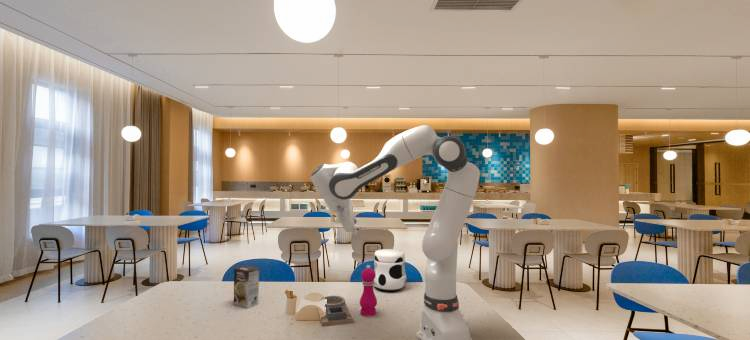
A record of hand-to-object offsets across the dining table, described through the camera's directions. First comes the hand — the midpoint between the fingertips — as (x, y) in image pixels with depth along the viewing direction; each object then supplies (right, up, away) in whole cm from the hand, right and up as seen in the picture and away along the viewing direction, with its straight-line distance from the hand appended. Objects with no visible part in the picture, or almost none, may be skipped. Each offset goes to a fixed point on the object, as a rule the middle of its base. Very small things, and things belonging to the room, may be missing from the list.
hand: (355, 228), depth 137 cm
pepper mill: (+5, -36, +2) cm, 36 cm away
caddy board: (-9, -36, +1) cm, 37 cm away
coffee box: (-49, -36, +11) cm, 62 cm away
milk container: (+15, -36, +33) cm, 52 cm away
